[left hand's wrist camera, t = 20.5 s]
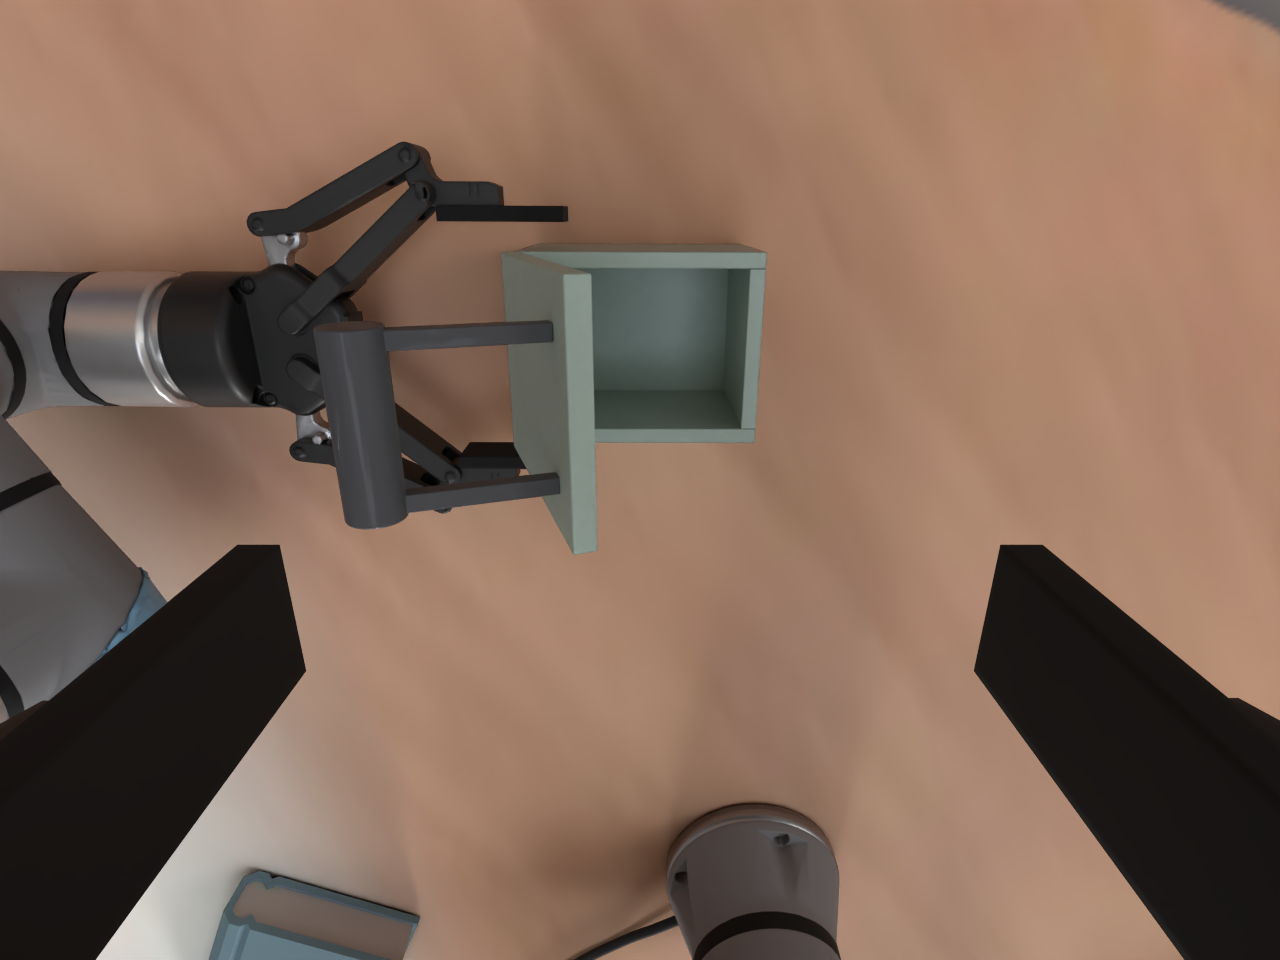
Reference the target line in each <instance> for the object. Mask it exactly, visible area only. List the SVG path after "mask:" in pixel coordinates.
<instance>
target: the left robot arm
mask: <svg viewBox="0 0 1280 960" xmlns="http://www.w3.org/2000/svg"><path fill="white" fill-rule="evenodd" d="M305 672H306V668H305V663H304V659H303V654H302V649H301V644H300V640H299V635H298V630H297V625H296V621H295V616H294V611H293V606H292V602H291V597H290V592H289V587H288V583H287V578H286V573H285V568H284V564H283V559H282V554H281V550H280V545H237V546H235V547H234V548H233V549H232V550H231V551H229V552H228V553H227V554H226V555H225V556H223V557H222V558H221V559H220V560H218V561H217V562H216V563H215V564H214V565H212V566H211V567H210V568H209V569H208V570H206V571H205V572H204V573H203V574H202V575H200V576H199V577H198V578H197V579H195V580H194V581H193V582H192V583H191V584H189V585H188V586H187V587H186V588H185V589H183V590H182V591H181V592H180V593H178V594H177V595H176V596H175V597H174V598H172V599H171V600H170V601H169V602H168V603H166V604H165V605H164V606H163V607H162V608H160V609H159V610H158V611H157V612H155V613H154V614H153V615H152V616H151V617H149V618H148V619H147V620H146V621H145V622H143V623H142V624H141V625H140V626H138V627H137V628H136V629H135V630H134V631H132V632H131V633H130V634H129V635H128V636H126V637H125V638H124V639H123V640H122V641H120V642H119V643H118V644H117V645H115V646H114V647H113V648H112V649H111V650H109V651H108V652H107V653H106V654H105V655H103V656H102V657H101V658H100V659H98V660H97V661H96V662H95V663H94V664H92V665H91V666H90V667H89V668H88V669H86V670H85V671H84V672H83V673H82V674H80V675H79V676H78V677H77V678H75V679H74V680H73V681H72V682H71V683H69V684H68V685H67V686H66V687H65V688H63V689H62V690H61V691H60V692H59V693H57V694H56V695H55V696H54V697H52V698H51V699H50V700H49V701H41V702H39V703H37V704H35V705H33V706H32V707H30V708H28V709H26V710H24V711H22V712H21V713H19V714H17V715H15V716H13V717H11V718H10V719H8V720H6V721H4V722H2V723H0V960H96V958H97V957H98V956H99V954H100V953H101V952H102V950H103V949H104V947H105V946H106V945H107V943H108V942H109V941H110V939H111V938H112V936H113V935H114V934H115V932H116V931H117V930H118V928H119V927H120V925H121V924H122V923H123V921H124V920H125V919H126V917H127V916H128V915H129V913H130V912H131V910H132V909H133V908H134V906H135V905H136V904H137V902H138V901H139V899H140V898H141V897H142V895H143V894H144V893H145V891H146V890H147V888H148V887H149V886H150V884H151V883H152V882H153V880H154V879H155V877H156V876H157V875H158V873H159V872H160V871H161V869H162V868H163V866H164V865H165V864H166V862H167V861H168V860H169V858H170V857H171V856H172V854H173V853H174V851H175V850H176V849H177V847H178V846H179V845H180V843H181V842H182V840H183V839H184V838H185V836H186V835H187V834H188V832H189V831H190V829H191V828H192V827H193V825H194V824H195V823H196V821H197V820H198V818H199V817H200V816H201V814H202V813H203V812H204V810H205V809H206V807H207V806H208V805H209V803H210V802H211V801H212V799H213V798H214V797H215V795H216V794H217V792H218V791H219V790H220V788H221V787H222V786H223V784H224V783H225V781H226V780H227V779H228V777H229V776H230V775H231V773H232V772H233V770H234V769H235V768H236V766H237V765H238V764H239V762H240V761H241V759H242V758H243V757H244V755H245V754H246V753H247V751H248V750H249V748H250V747H251V746H252V744H253V743H254V742H255V740H256V739H257V738H258V736H259V735H260V733H261V732H262V731H263V729H264V728H265V727H266V725H267V724H268V722H269V721H270V720H271V718H272V717H273V716H274V714H275V713H276V711H277V710H278V709H279V707H280V706H281V705H282V703H283V702H284V700H285V699H286V698H287V696H288V695H289V694H290V692H291V691H292V689H293V688H294V687H295V685H296V684H297V683H298V681H299V680H300V679H301V677H302V676H303V674H304V673H305ZM974 672H975V673H976V674H977V676H978V677H979V679H980V680H981V681H982V683H983V684H984V685H985V687H986V688H987V689H988V691H989V692H990V694H991V695H992V696H993V698H994V699H995V700H996V702H997V703H998V705H999V706H1000V707H1001V709H1002V710H1003V711H1004V713H1005V714H1006V716H1007V717H1008V718H1009V720H1010V721H1011V722H1012V724H1013V725H1014V727H1015V728H1016V729H1017V731H1018V732H1019V733H1020V735H1021V736H1022V738H1023V739H1024V740H1025V742H1026V743H1027V744H1028V746H1029V747H1030V748H1031V750H1032V751H1033V753H1034V754H1035V755H1036V757H1037V758H1038V759H1039V761H1040V762H1041V764H1042V765H1043V766H1044V768H1045V769H1046V770H1047V772H1048V773H1049V775H1050V776H1051V777H1052V779H1053V780H1054V781H1055V783H1056V784H1057V786H1058V787H1059V788H1060V790H1061V791H1062V792H1063V794H1064V795H1065V797H1066V798H1067V799H1068V801H1069V802H1070V803H1071V805H1072V806H1073V807H1074V809H1075V810H1076V812H1077V813H1078V814H1079V816H1080V817H1081V818H1082V820H1083V821H1084V823H1085V824H1086V825H1087V827H1088V828H1089V829H1090V831H1091V832H1092V834H1093V835H1094V836H1095V838H1096V839H1097V840H1098V842H1099V843H1100V845H1101V846H1102V847H1103V849H1104V850H1105V851H1106V853H1107V854H1108V856H1109V857H1110V858H1111V860H1112V861H1113V862H1114V864H1115V865H1116V866H1117V868H1118V869H1119V871H1120V872H1121V873H1122V875H1123V876H1124V877H1125V879H1126V880H1127V882H1128V883H1129V884H1130V886H1131V887H1132V888H1133V890H1134V891H1135V893H1136V894H1137V895H1138V897H1139V898H1140V899H1141V901H1142V902H1143V904H1144V905H1145V906H1146V908H1147V909H1148V910H1149V912H1150V913H1151V915H1152V916H1153V917H1154V919H1155V920H1156V921H1157V923H1158V924H1159V925H1160V927H1161V928H1162V930H1163V931H1164V932H1165V934H1166V935H1167V936H1168V938H1169V939H1170V941H1171V942H1172V943H1173V945H1174V946H1175V947H1176V949H1177V950H1178V952H1179V953H1180V954H1181V956H1182V957H1183V958H1184V960H1280V720H1278V719H1276V718H1274V717H1272V716H1270V715H1269V714H1267V713H1265V712H1263V711H1261V710H1259V709H1258V708H1256V707H1254V706H1252V705H1250V704H1248V703H1247V702H1245V701H1243V700H1241V699H1239V698H1228V697H1226V696H1225V695H1224V694H1223V693H1221V692H1220V691H1219V690H1218V689H1217V688H1215V687H1214V686H1213V685H1212V684H1211V683H1209V682H1208V681H1207V680H1206V679H1205V678H1203V677H1202V676H1201V675H1200V674H1198V673H1197V672H1196V671H1195V670H1194V669H1192V668H1191V667H1190V666H1189V665H1188V664H1186V663H1185V662H1184V661H1183V660H1182V659H1180V658H1179V657H1178V656H1177V655H1175V654H1174V653H1173V652H1172V651H1171V650H1169V649H1168V648H1167V647H1166V646H1165V645H1163V644H1162V643H1161V642H1160V641H1158V640H1157V639H1156V638H1155V637H1154V636H1152V635H1151V634H1150V633H1149V632H1148V631H1146V630H1145V629H1144V628H1143V627H1142V626H1140V625H1139V624H1138V623H1137V622H1135V621H1134V620H1133V619H1132V618H1131V617H1129V616H1128V615H1127V614H1126V613H1125V612H1123V611H1122V610H1121V609H1120V608H1118V607H1117V606H1116V605H1115V604H1114V603H1112V602H1111V601H1110V600H1109V599H1108V598H1106V597H1105V596H1104V595H1103V594H1102V593H1100V592H1099V591H1098V590H1097V589H1095V588H1094V587H1093V586H1092V585H1091V584H1089V583H1088V582H1087V581H1086V580H1085V579H1083V578H1082V577H1081V576H1080V575H1078V574H1077V573H1076V572H1075V571H1074V570H1072V569H1071V568H1070V567H1069V566H1068V565H1066V564H1065V563H1064V562H1063V561H1062V560H1060V559H1059V558H1058V557H1057V556H1055V555H1054V554H1053V553H1052V552H1051V551H1049V550H1048V549H1047V548H1046V547H1045V546H1043V545H1000V550H999V554H998V559H997V564H996V568H995V573H994V578H993V583H992V587H991V592H990V597H989V602H988V606H987V611H986V616H985V621H984V625H983V630H982V635H981V640H980V644H979V649H978V654H977V659H976V663H975V668H974ZM666 879H667V893H668V898H669V901H670V904H671V907H672V909H673V912H674V914H675V916H672V917H670V918H667V919H665V920H662V921H660V922H657V923H654V924H652V925H649V926H646V927H643V928H641V929H638V930H635V931H632V932H630V933H627V934H625V935H623V936H620V937H618V938H616V939H614V940H612V941H609V942H607V943H605V944H603V945H601V946H599V947H597V948H595V949H593V950H591V951H589V952H587V953H585V954H583V955H581V956H580V957H578V958H576V959H574V960H595V959H597V958H599V957H601V956H603V955H606V954H608V953H610V952H612V951H614V950H617V949H619V948H621V947H623V946H626V945H628V944H630V943H633V942H636V941H638V940H641V939H644V938H647V937H650V936H653V935H655V934H658V933H661V932H663V931H666V930H668V929H671V928H674V927H676V926H679V927H680V929H681V932H682V934H683V937H684V940H685V942H686V945H687V947H688V950H689V952H690V955H691V957H692V960H841V958H840V954H839V951H838V947H837V942H836V937H837V918H838V899H839V870H838V866H837V862H836V859H835V856H834V853H833V849H832V846H831V844H830V842H829V840H828V838H827V837H826V835H825V834H824V832H823V831H822V830H821V829H820V828H819V827H818V826H817V825H816V824H815V823H813V822H812V821H811V820H809V819H808V818H806V817H804V816H803V815H801V814H799V813H796V812H794V811H791V810H789V809H785V808H782V807H777V806H772V805H761V804H749V805H738V806H733V807H728V808H724V809H721V810H718V811H715V812H712V813H710V814H708V815H706V816H704V817H702V818H700V819H698V820H697V821H695V822H694V823H692V824H691V825H690V826H689V827H687V828H686V829H685V830H684V831H683V832H682V833H681V834H680V835H679V837H678V838H677V839H676V841H675V842H674V844H673V845H672V847H671V849H670V852H669V855H668V858H667V863H666Z"/></svg>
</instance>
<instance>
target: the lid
mask: <svg viewBox="0 0 1280 960" xmlns="http://www.w3.org/2000/svg"><path fill="white" fill-rule="evenodd" d="M501 260H502V275H503V290H504V305H505V319H506V322H493V323H471V324H449V325H427V326H406V327H385V326H384V324H382V323H379V322H372V321H347V322H335V323H327V324H322V325H319V326H316V327H314V329H313V333H314V339H315V345H316V351H317V357H318V363H319V369H320V375H321V381H322V387H323V393H324V398H325V404H326V410H327V416H328V422H329V428H330V434H331V440H332V446H333V452H334V458H335V464H336V470H337V476H338V482H339V488H340V494H341V500H342V506H343V512H344V518H345V522H346V523H347V525H349V526H350V527H353V528H357V529H378V528H384V527H388V526H391V525H394V524H397V523H399V522H401V521H403V520H404V519H405V518H406V517H407V516H408V513H411V512H419V511H427V510H436V509H444V508H452V507H460V506H468V505H476V504H484V503H492V502H500V501H508V500H516V499H524V498H532V497H540V496H542V498H543V500H544V501H545V503H546V505H547V507H548V509H549V511H550V512H551V514H552V516H553V518H554V520H555V522H556V523H557V525H558V527H559V529H560V531H561V533H562V534H563V536H564V538H565V540H566V542H567V544H568V545H569V547H570V549H571V551H572V553H573V554H575V555H576V554H583V553H589V552H596V551H597V549H598V548H597V503H596V459H595V414H594V370H593V325H592V281H591V274H590V273H587V272H584V271H580V270H577V269H574V268H570V267H567V266H564V265H560V264H557V263H554V262H550V261H547V260H544V259H540V258H537V257H534V256H530V255H527V254H524V253H520V252H502V253H501ZM494 345H507V349H508V364H509V379H510V394H511V408H512V423H513V438H514V446H515V448H516V450H517V452H518V454H519V456H520V457H521V459H522V461H523V463H524V465H525V467H526V468H527V470H528V472H529V474H530V475H524V476H516V477H507V478H498V479H489V480H480V481H472V482H463V483H454V484H445V485H436V486H428V487H419V488H410V489H406V486H405V478H404V470H403V463H402V455H401V447H400V440H399V432H398V424H397V417H396V409H395V401H394V393H393V386H392V378H391V370H390V363H389V355H388V351H404V350H422V349H440V348H458V347H476V346H494Z"/></svg>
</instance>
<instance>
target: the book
mask: <svg viewBox="0 0 1280 960" xmlns="http://www.w3.org/2000/svg"><path fill="white" fill-rule="evenodd" d="M419 919H420V917H417V916H414V915H410V914H407V913H403V912H400V911H397V910H393V909H390V908H386V907H383V906H379V905H376V904H372V903H369V902H366V901H362V900H359V899H355V898H352V897H348V896H345V895H341V894H338V893H335V892H331V891H328V890H324V889H321V888H317V887H314V886H310V885H307V884H303V883H300V882H297V881H293V880H290V879H286V878H283V877H276V878H273V879H272V878H271V876H270V874H269V873H266V872H262V871H258V872H255V873H252V874H250V875H247V876H244V877H243V879H242V881H241V882H240V884H239V886H238V887H237V889H236V891H235V892H234V894H233V896H232V898H231V899H230V901H229V903H228V904H227V906H226V908H225V909H224V911H223V915H222V918H221V921H220V924H219V928H218V931H217V934H216V938H215V941H214V944H213V947H212V951H211V954H210V957H209V960H403V957H404V954H405V951H406V949H407V947H408V945H409V942H410V940H411V938H412V936H413V934H414V931H415V929H416V927H417V925H418V922H419Z"/></svg>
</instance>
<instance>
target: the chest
mask: <svg viewBox="0 0 1280 960" xmlns="http://www.w3.org/2000/svg"><path fill="white" fill-rule="evenodd" d="M514 252H520V253H524V254H527V255H530V256H534V257H537V258H540V259H544V260H547V261H550V262H554V263H557V264H560V265H564V266H567V267H570V268H574V269H577V270H580V271H584V272H587V273H590V274H591V281H592V325H593V370H594V414H595V442H610V443H754V442H755V428H756V414H757V398H758V383H759V368H760V352H761V337H762V322H763V307H764V291H765V276H766V269H765V268H766V260H767V252H764V251H761V250H758V249H754V248H751V247H748V246H745V245H742V244H537V245H534V246H530V247H527V248H524V249H521V250H517V251H514Z"/></svg>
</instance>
